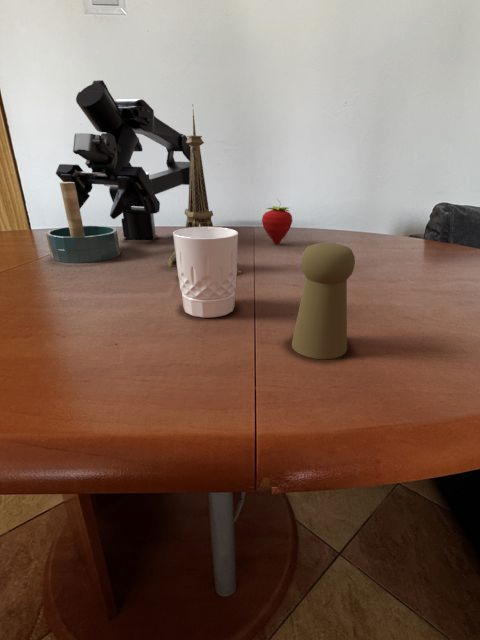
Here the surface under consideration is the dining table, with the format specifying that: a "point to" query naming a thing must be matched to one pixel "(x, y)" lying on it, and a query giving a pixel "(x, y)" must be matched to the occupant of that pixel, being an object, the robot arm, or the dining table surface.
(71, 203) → the stick
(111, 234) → the bowl
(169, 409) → the dining table surface
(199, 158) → the eiffel tower
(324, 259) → the cork
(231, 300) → the white cup
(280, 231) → the strawberry
